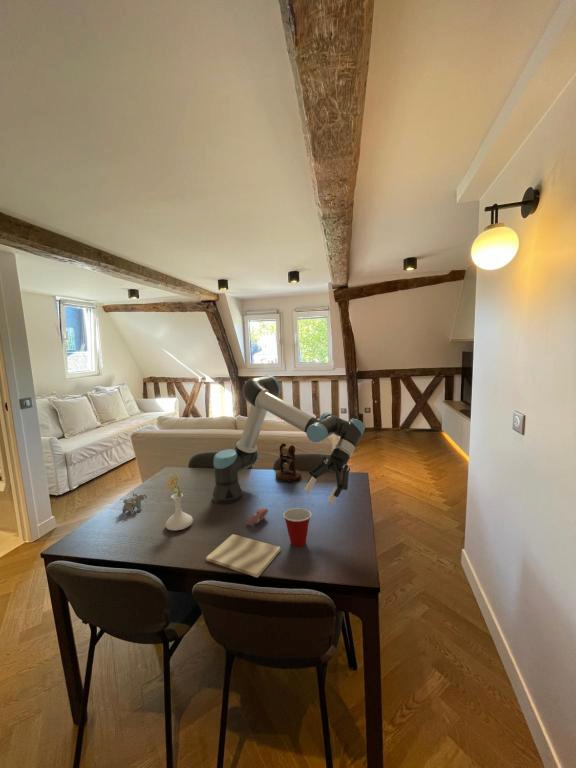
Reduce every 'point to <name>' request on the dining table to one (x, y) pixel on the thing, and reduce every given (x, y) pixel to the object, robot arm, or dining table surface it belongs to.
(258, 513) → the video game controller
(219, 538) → the dining table surface
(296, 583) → the dining table surface
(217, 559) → the birch board
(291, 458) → the brown wooden upright piece
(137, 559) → the dining table surface
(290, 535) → the plastic cup
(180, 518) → the flower in vase
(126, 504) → the elephant statuette
